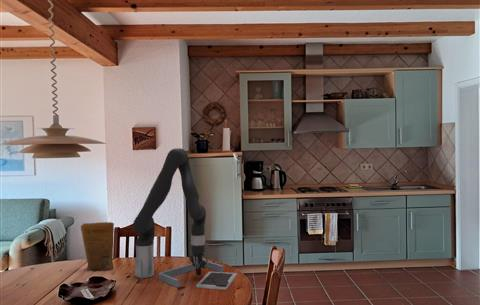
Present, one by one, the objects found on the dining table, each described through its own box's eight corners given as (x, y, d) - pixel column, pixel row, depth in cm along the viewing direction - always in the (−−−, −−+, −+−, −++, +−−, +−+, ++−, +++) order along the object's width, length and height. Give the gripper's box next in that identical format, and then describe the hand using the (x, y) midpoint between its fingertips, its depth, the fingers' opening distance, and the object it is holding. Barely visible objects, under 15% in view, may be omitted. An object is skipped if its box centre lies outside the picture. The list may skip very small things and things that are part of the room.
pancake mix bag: (112, 272, 220) (111, 223, 219) (81, 271, 222) (79, 223, 221) (117, 268, 226) (116, 220, 226) (87, 267, 228) (85, 220, 228)
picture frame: (226, 291, 189) (236, 276, 209) (225, 285, 189) (236, 271, 209) (195, 289, 193) (209, 275, 213) (195, 283, 193) (209, 270, 213)
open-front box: (176, 287, 193) (176, 280, 193) (158, 279, 205) (158, 273, 205) (223, 272, 215) (223, 265, 215) (204, 265, 227) (204, 259, 227)
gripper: (184, 242, 207) (185, 274, 208) (200, 246, 198) (200, 280, 198) (196, 239, 213) (196, 270, 213) (211, 243, 203) (211, 276, 204)
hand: (198, 275), depth 206 cm, fingers closed
